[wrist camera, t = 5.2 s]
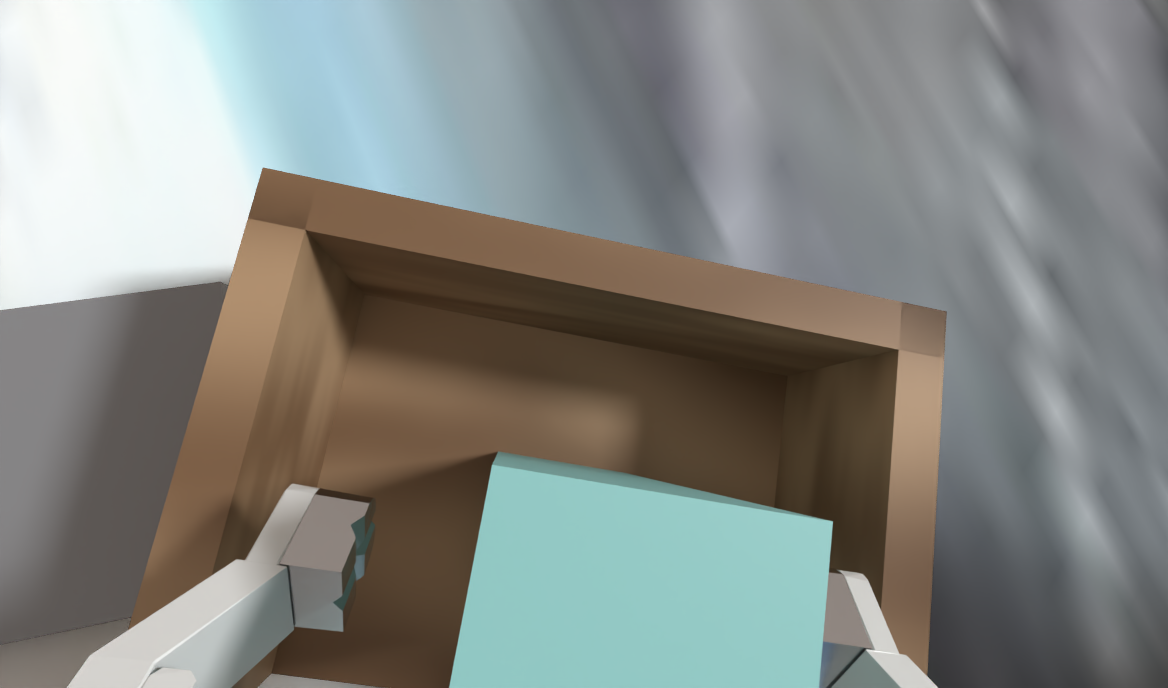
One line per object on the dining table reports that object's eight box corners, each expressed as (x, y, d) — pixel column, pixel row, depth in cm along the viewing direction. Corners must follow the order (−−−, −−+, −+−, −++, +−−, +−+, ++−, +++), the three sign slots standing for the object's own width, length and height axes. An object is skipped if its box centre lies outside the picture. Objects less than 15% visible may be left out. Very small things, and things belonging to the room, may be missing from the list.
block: (604, 606, 18) (799, 915, 6) (472, 587, 17) (411, 879, 6) (624, 472, 19) (832, 521, 7) (498, 451, 18) (491, 464, 6)
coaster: (235, 290, 19) (220, 281, 18) (265, 583, 17) (250, 592, 16) (-56, 328, 17) (-89, 321, 16) (-47, 649, 16) (-82, 661, 15)
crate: (776, 725, 19) (916, 869, 12) (239, 657, 17) (82, 784, 11) (812, 351, 21) (946, 311, 15) (341, 258, 19) (263, 167, 13)
